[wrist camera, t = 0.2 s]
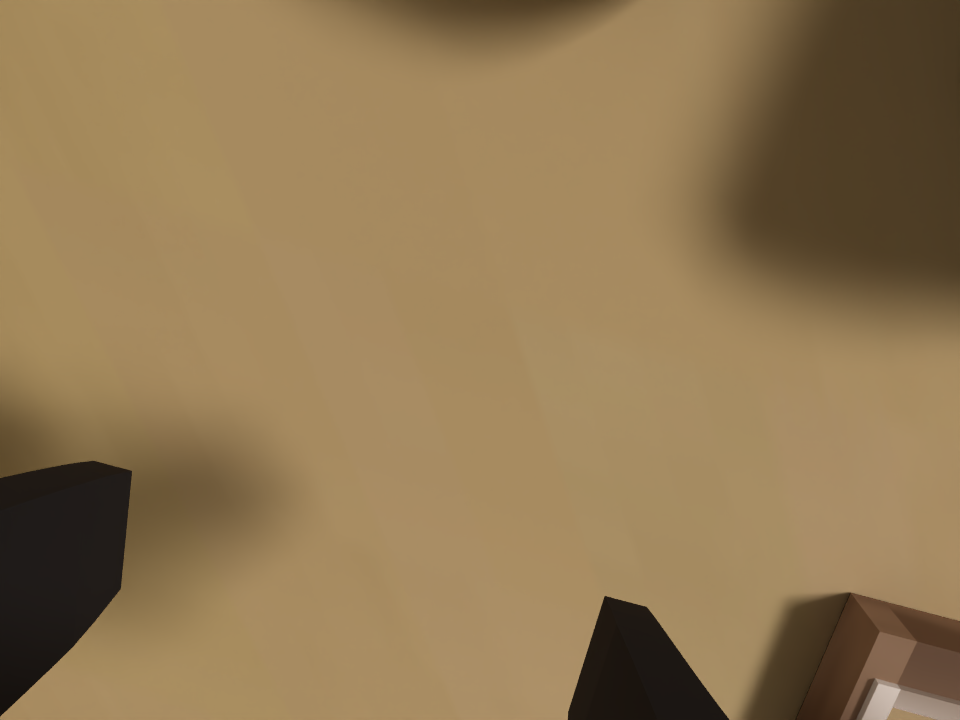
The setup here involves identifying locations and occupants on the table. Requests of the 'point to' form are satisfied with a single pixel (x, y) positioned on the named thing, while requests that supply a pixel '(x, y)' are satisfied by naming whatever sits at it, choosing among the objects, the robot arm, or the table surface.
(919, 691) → the brown wooden compartment tray
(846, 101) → the table surface
